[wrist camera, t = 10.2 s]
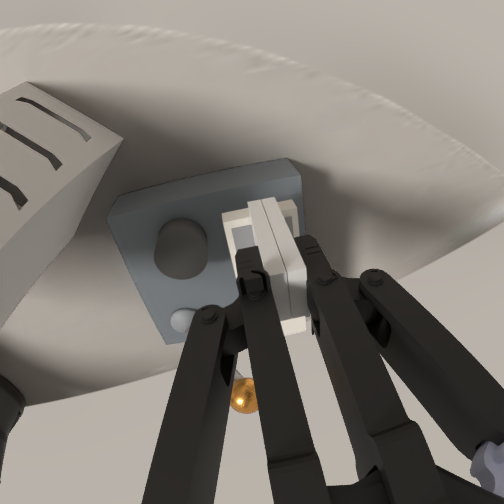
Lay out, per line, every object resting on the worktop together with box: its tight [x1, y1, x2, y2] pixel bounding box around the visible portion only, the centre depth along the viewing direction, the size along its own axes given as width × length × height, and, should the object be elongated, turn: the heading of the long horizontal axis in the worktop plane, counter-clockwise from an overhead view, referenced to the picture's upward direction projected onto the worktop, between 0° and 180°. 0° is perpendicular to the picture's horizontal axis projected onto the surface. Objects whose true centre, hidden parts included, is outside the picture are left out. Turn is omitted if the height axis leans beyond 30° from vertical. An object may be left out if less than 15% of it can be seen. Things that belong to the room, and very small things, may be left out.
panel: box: [106, 158, 310, 345], centre depth 25 cm, size 14×14×6 cm
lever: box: [184, 322, 258, 414], centre depth 23 cm, size 3×3×10 cm
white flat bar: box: [222, 199, 306, 336], centre depth 22 cm, size 4×11×1 cm, turn 9°
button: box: [154, 218, 208, 280], centre depth 21 cm, size 4×4×2 cm
